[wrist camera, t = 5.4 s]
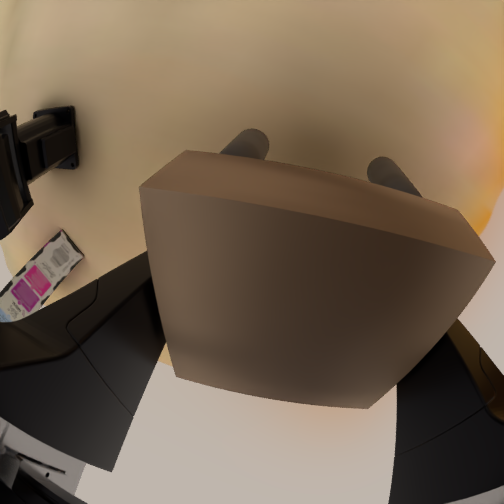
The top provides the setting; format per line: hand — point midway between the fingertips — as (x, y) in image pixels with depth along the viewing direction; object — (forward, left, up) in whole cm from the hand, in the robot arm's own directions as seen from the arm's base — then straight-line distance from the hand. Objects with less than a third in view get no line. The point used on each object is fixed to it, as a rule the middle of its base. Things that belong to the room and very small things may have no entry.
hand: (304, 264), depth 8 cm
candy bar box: (-29, -18, -13) cm, 37 cm away
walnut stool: (0, 0, -3) cm, 3 cm away
